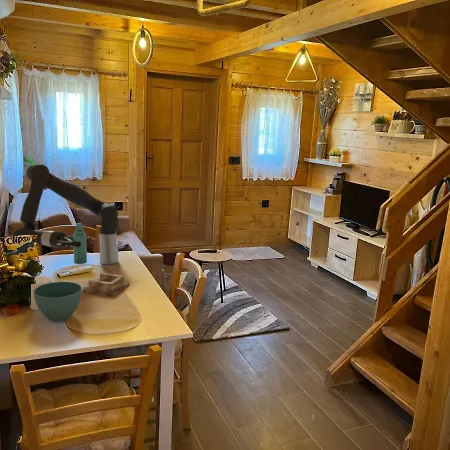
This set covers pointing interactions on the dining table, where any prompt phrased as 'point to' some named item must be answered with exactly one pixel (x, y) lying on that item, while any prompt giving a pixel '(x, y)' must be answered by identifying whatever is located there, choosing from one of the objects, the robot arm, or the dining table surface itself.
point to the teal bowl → (58, 299)
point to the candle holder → (39, 281)
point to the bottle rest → (107, 285)
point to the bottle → (81, 251)
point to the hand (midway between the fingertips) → (84, 242)
